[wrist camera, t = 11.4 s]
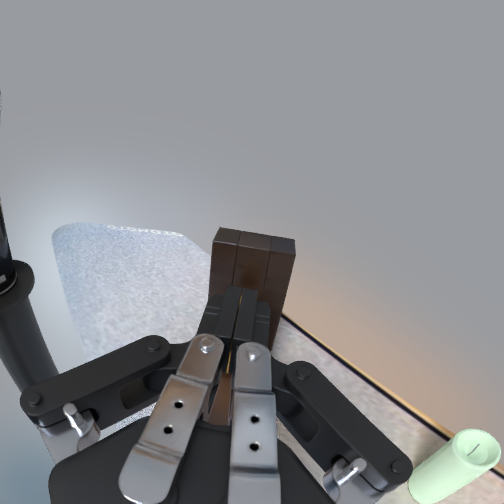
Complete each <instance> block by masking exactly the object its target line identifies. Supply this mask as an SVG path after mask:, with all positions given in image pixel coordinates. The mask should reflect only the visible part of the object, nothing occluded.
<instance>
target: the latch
mask: <svg viewBox="0 0 504 504" xmlns="http://www.w3.org/2000/svg"><path fill="white" fill-rule="evenodd" d="M295 256H296V252H295V240H294V239H289V238H283V237H276V236H269V235H264V234H258V233H252V232H245V231H239V230H234V229H228V228H221V227H220V228H219V229H218V231H217V233H216V235H215V238H214V240H213V244H212V255H211V268H210V281H209V294H208V300H209V298H210V297H211V296H212V295H214V294H215V293H218V294H223V295H225V292H226V289H227V285H231V286H237V287H242V292H243V288H248V289H254V290H258V294H257V301H263V302H267V303H268V305H269V307H270V309H271V314H270V328H269V341H268V350H269V351H270V354H271V351H272V347H273V343H274V339H275V336H276V332H277V328H278V324H279V321H280V317H281V313H282V309H283V305H284V301H285V297H286V293H287V289H288V285H289V281H290V277H291V273H292V268H293V264H294V260H295ZM241 296H242V293H241ZM231 375H232V374H228V373H221V377H220V385H219V389H218V392H217V395H216V398H215V401H214V404H213V408H212V411H211V414H210V417H209V420H208V423H210V424H212V425H228V417H229V405H230V393H231V384H230V382H231Z"/></svg>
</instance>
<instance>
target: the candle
mask: <svg viewBox="0 0 504 504" xmlns="http://www.w3.org/2000/svg"><path fill="white" fill-rule="evenodd" d="M500 456H501V448H500V445H499V443H498V442H497V440H496V439H495V438H494V437H493V436H492V435H490V434H489V433H487V432H485V431H482V430H479V429H465V430H462V431H460V432H458V433H457V434H456V435H455V436H454V437H453V438H452V439H450V440H449V441H448V442H447V443H446V444H445V445H443V446H442V447H441V448H440V449H439V450H438V451H436V452H435V453H434V454H433V455H431V456H430V457H429V458H428V459H426V460H425V461H424V462H422V463H421V464H420V465H419V466H417V467H416V468H415V469H414V470H413V471H412V475H411V477H410V478H409V482H408V485H409V491H410V494H411V495H412V497H413V498H414V499H415V500H416V501H417V502H419V503H421V504H434V503H436V502H438V501H440V500H442V499H444V498H445V497H447V496H449V495H451V494H452V493H454V492H456V491H457V490H459V489H461V488H462V487H464V486H465V485H467V484H469V483H470V482H472V481H473V480H475V479H476V478H478V477H479V476H481V475H482V474H484V473H485V472H486V471H488V470H489V469H491V468H492V467H493V466H495V465H496V464H497V463H498V461H499V460H500Z"/></svg>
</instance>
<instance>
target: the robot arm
mask: <svg viewBox="0 0 504 504" xmlns="http://www.w3.org/2000/svg"><path fill="white" fill-rule="evenodd" d="M0 115H1V92H0ZM16 282H17V273H16V270H15V267H14V264H13V260H12V256H11V252H10V247H9V243H8V239H7V234H6V229H5V223H4V218H3V212H2V206H1V199H0V297H1V296H3V295H5V294H6V293H8V292H9V291H10V290H11V289H12V288H13V287H14V286H15V284H16ZM241 293H242V297H241ZM257 294H258V290H254V289H248V288H243V292H242V287H237V286H231V285H227V289H226V292H225V295H223V294H218V293H215V294H214V295H212V296H211V297H210V298H209V300H208V302H207V305H206V308H205V311H204V314H203V316H202V319H201V322H200V325H199V328H198V331H197V334H196V336H195V337H194V338H193V339H192V340H190V341H188V342H186V343H182V344H169V342H168V341H167V340H166V339H165V338H163V337H161V336H157V335H150V336H146V337H144V338H141V339H139V340H137V341H135V342H133V343H130V344H128V345H126V346H124V347H121V348H119V349H117V350H115V351H112V352H110V353H108V354H106V355H103V356H101V357H99V358H97V359H94V360H92V361H90V362H87V363H85V364H83V365H80V366H78V367H76V368H73V369H71V370H69V371H66V372H64V373H62V374H59V375H57V376H54V377H52V378H50V379H47V380H45V381H42V382H40V383H38V384H35V385H33V386H30V387H28V388H27V389H25V390H24V391H23V393H22V395H21V397H20V405H21V407H22V409H23V411H24V412H25V413H26V415H27V416H28V417H29V418H30V420H31V421H32V422H33V423H34V424H35V426H36V427H37V428H38V429H39V431H40V433H41V436H42V438H43V440H44V442H45V444H46V447H47V449H48V451H49V453H50V455H51V457H52V459H53V460H54V462H55V467H54V468H53V469H52V471H51V474H50V477H49V485H48V486H49V493H50V500H51V504H375V503H376V502H377V501H378V500H379V499H380V498H381V497H383V496H385V495H386V494H388V493H390V492H391V491H393V490H395V489H396V488H397V487H398V486H400V485H401V484H403V483H404V482H406V481H407V480H408V479H409V478H410V477H411V475H412V471H413V466H412V462H411V460H410V459H409V458H408V457H407V456H406V455H405V454H404V453H403V452H402V451H401V450H400V449H399V448H398V447H397V446H396V445H394V444H393V443H392V442H391V441H390V440H389V439H388V438H387V437H386V436H385V435H384V434H383V433H382V432H381V431H380V430H379V429H378V428H377V427H376V426H375V425H374V424H372V423H371V422H370V421H369V420H368V419H367V418H366V417H365V416H364V415H363V414H362V413H361V412H360V411H359V410H358V409H357V408H356V407H355V406H354V405H353V404H352V403H351V402H350V401H349V400H348V399H347V398H346V397H345V396H344V395H343V394H342V393H341V392H340V391H339V390H338V389H337V388H336V387H335V386H334V385H333V384H332V383H331V382H330V381H329V380H328V379H327V378H326V377H325V376H324V375H323V374H322V373H321V372H320V371H319V370H318V369H317V368H316V367H315V366H314V365H312V364H311V363H308V362H305V361H296V362H293V363H291V364H290V365H286V364H284V363H281V362H279V361H277V360H276V359H274V358H273V357H272V356H271V354H270V351H269V350H268V341H269V328H270V314H271V309H270V307H269V305H268V303H267V302H263V301H257ZM240 300H241V302H240ZM230 353H231V355H230ZM229 358H230V362H229ZM228 363H229V369H228V374H232V375H231V382H230V384H231V393H230V405H229V417H228V425H212V424H210V423H208V420H209V417H210V414H211V411H212V408H213V404H214V401H215V398H216V395H217V392H218V389H219V385H220V377H221V373H227V368H228ZM155 402H157V403H156V405H155V407H154V409H153V411H152V413H151V416H147V417H143V418H141V419H138V420H136V421H134V422H132V423H131V424H129V425H127V426H125V427H124V428H122V429H120V430H118V431H117V432H115V433H113V434H111V435H109V436H108V437H106V438H104V439H102V440H100V441H98V440H99V438H100V431H101V430H103V429H105V428H107V427H109V426H111V425H113V424H115V423H117V422H119V421H121V420H123V419H125V418H127V417H129V416H131V415H133V414H135V413H136V412H138V411H140V410H142V409H144V408H146V407H148V406H150V405H151V404H153V403H155ZM276 416H277V417H278V419H279V420H280V421H281V422H282V423H283V425H284V426H285V427H286V428H287V429H288V431H289V432H290V433H291V434H292V435H293V437H294V438H295V439H296V440H297V441H298V442H299V444H300V445H301V446H302V447H303V448H304V449H305V450H306V452H307V453H308V454H309V455H310V456H311V457H312V458H313V459H314V461H315V462H316V463H317V464H318V465H319V466H320V467H321V468H322V469H323V470H324V472H325V474H324V476H323V485H324V488H325V489H326V491H327V492H328V494H327V492H326V491H325V490H324V489H323V488H322V487H321V485H320V484H319V483H318V482H317V481H316V479H315V478H314V477H313V476H312V475H311V473H310V472H309V471H308V470H307V469H306V467H305V466H304V465H303V464H302V462H301V461H300V460H299V459H298V457H297V456H296V455H295V454H294V452H293V451H292V450H291V449H290V448H289V447H288V446H287V445H286V444H285V443H283V442H282V441H280V440H279V439H277V426H276ZM97 441H98V442H97Z"/></svg>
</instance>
